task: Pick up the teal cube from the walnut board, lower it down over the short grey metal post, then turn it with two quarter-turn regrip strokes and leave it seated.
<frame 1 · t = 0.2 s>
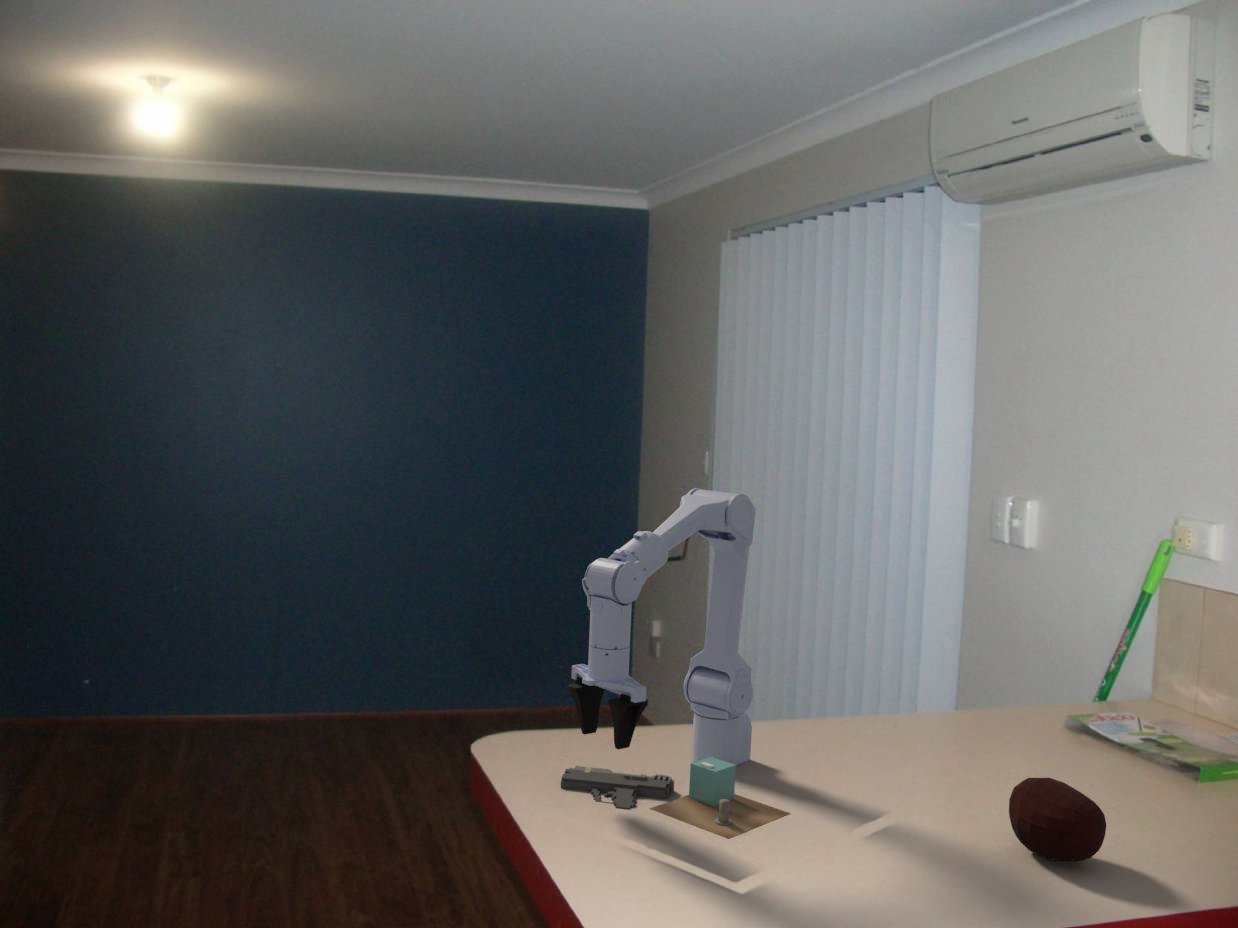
hand: (605, 740, 169), 10 cm above the kitchen counter, tool pointing down, fingers open, 7 cm apart
teal cube: (711, 797, 174), point 1 cm above the kitchen counter, touching board
board: (719, 817, 169), on the kitchen counter
potato: (1053, 860, 159), on the kitchen counter
toy gun: (613, 804, 174), on the kitchen counter
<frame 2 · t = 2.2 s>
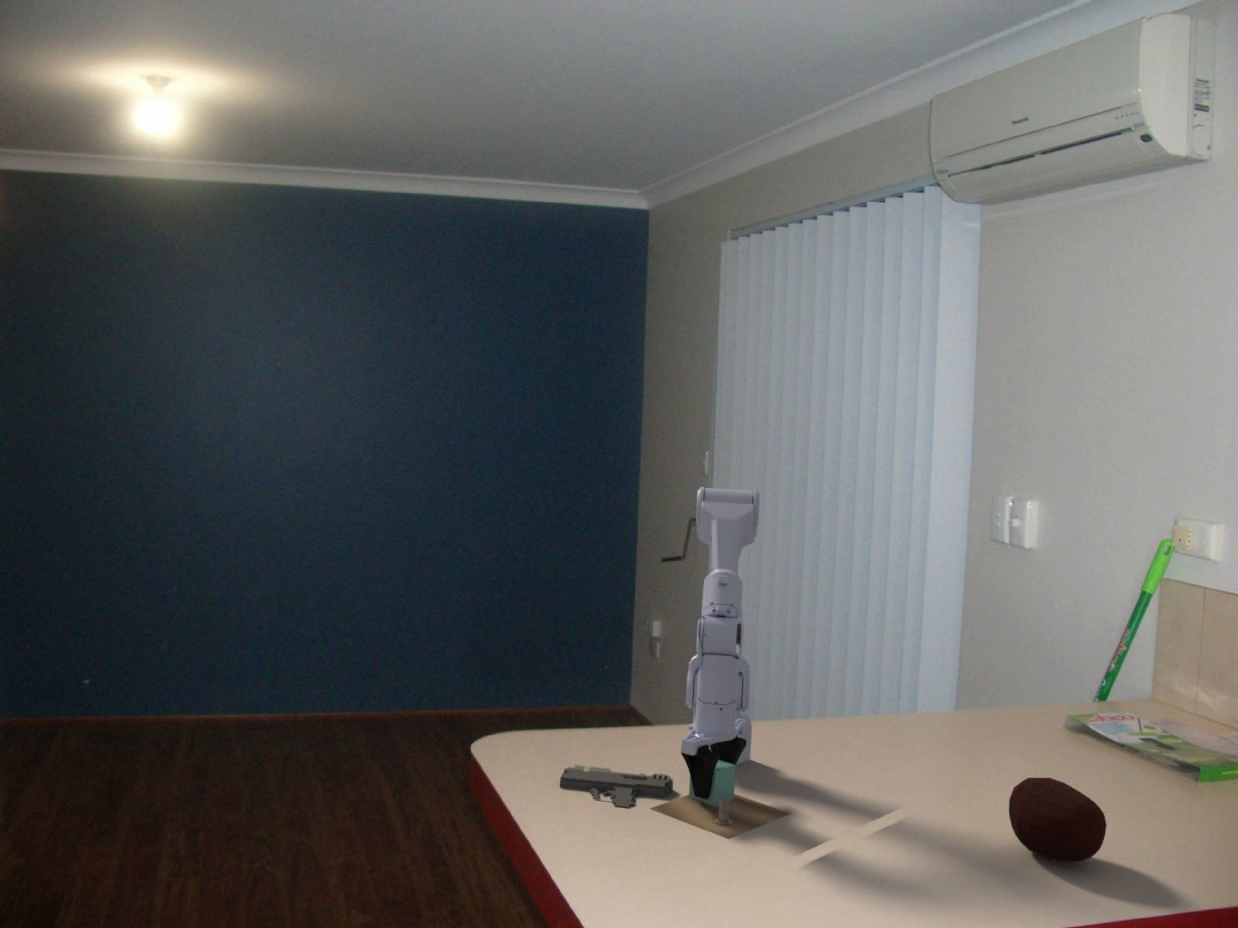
hand: (711, 791, 173), 2 cm above the kitchen counter, tool pointing down, fingers closed on teal cube, 5 cm apart
teal cube: (711, 797, 174), point 1 cm above the kitchen counter, touching board, gripper
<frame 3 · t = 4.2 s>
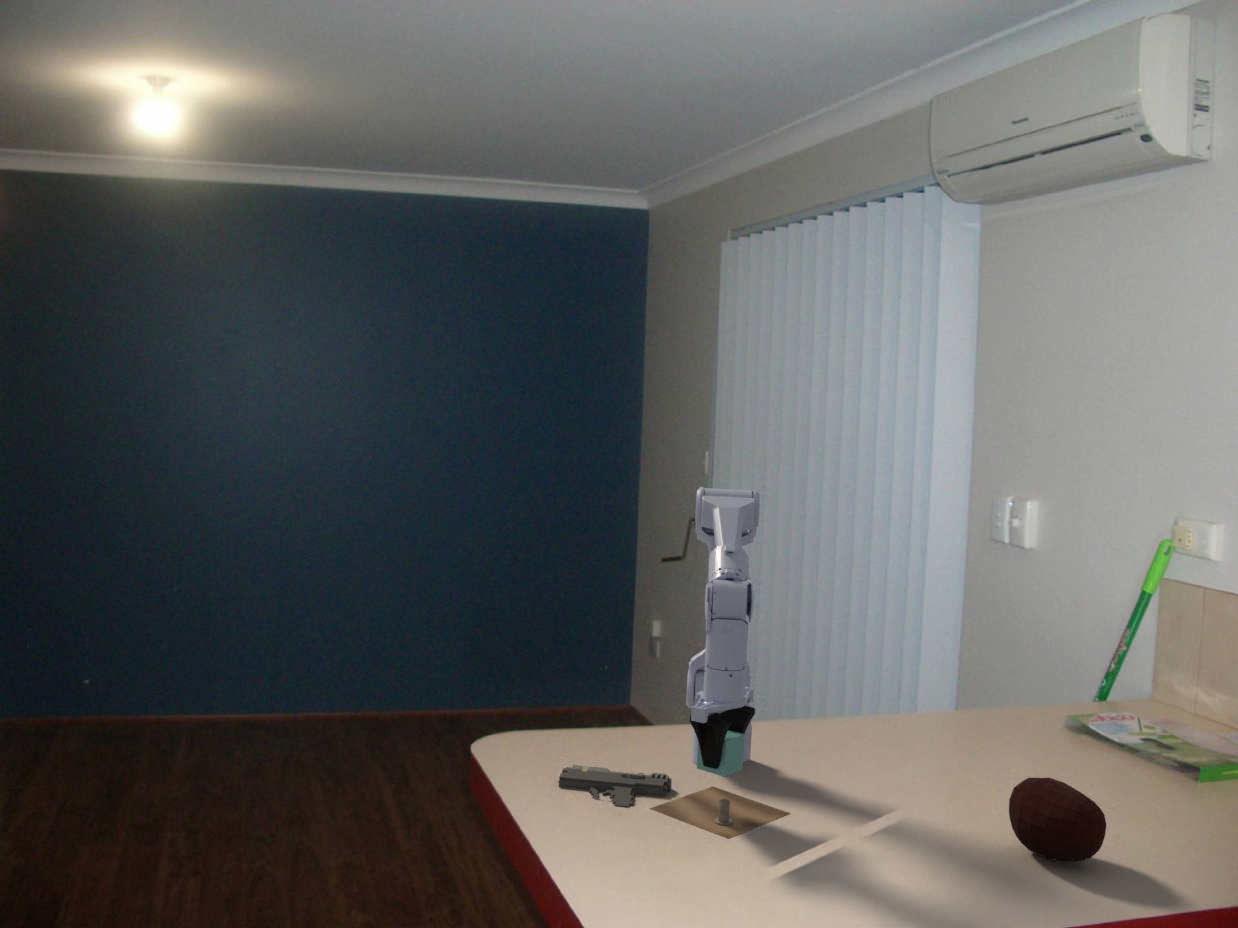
hand: (720, 761, 168), 8 cm above the kitchen counter, tool pointing down, fingers closed on teal cube, 5 cm apart
teal cube: (719, 768, 168), point 7 cm above the kitchen counter, touching gripper
everything else where it was.
when the fingers open (2 cm above the kitchen counter, at t = 6.4 s): teal cube stays where it is, resting on board.
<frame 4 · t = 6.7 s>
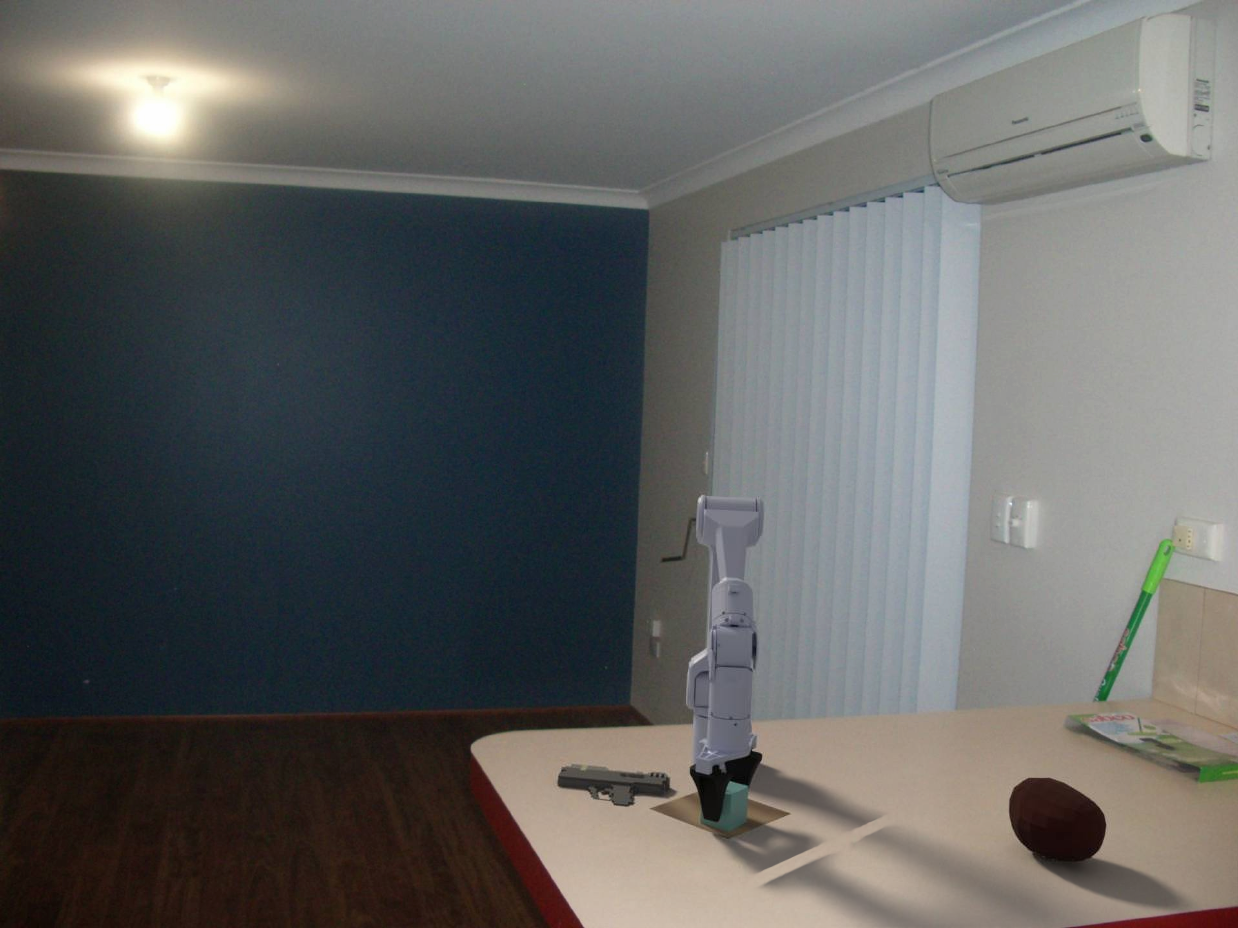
hand: (724, 811, 164), 3 cm above the kitchen counter, tool pointing down, fingers open, 7 cm apart
teal cube: (723, 822, 164), point 1 cm above the kitchen counter, touching board
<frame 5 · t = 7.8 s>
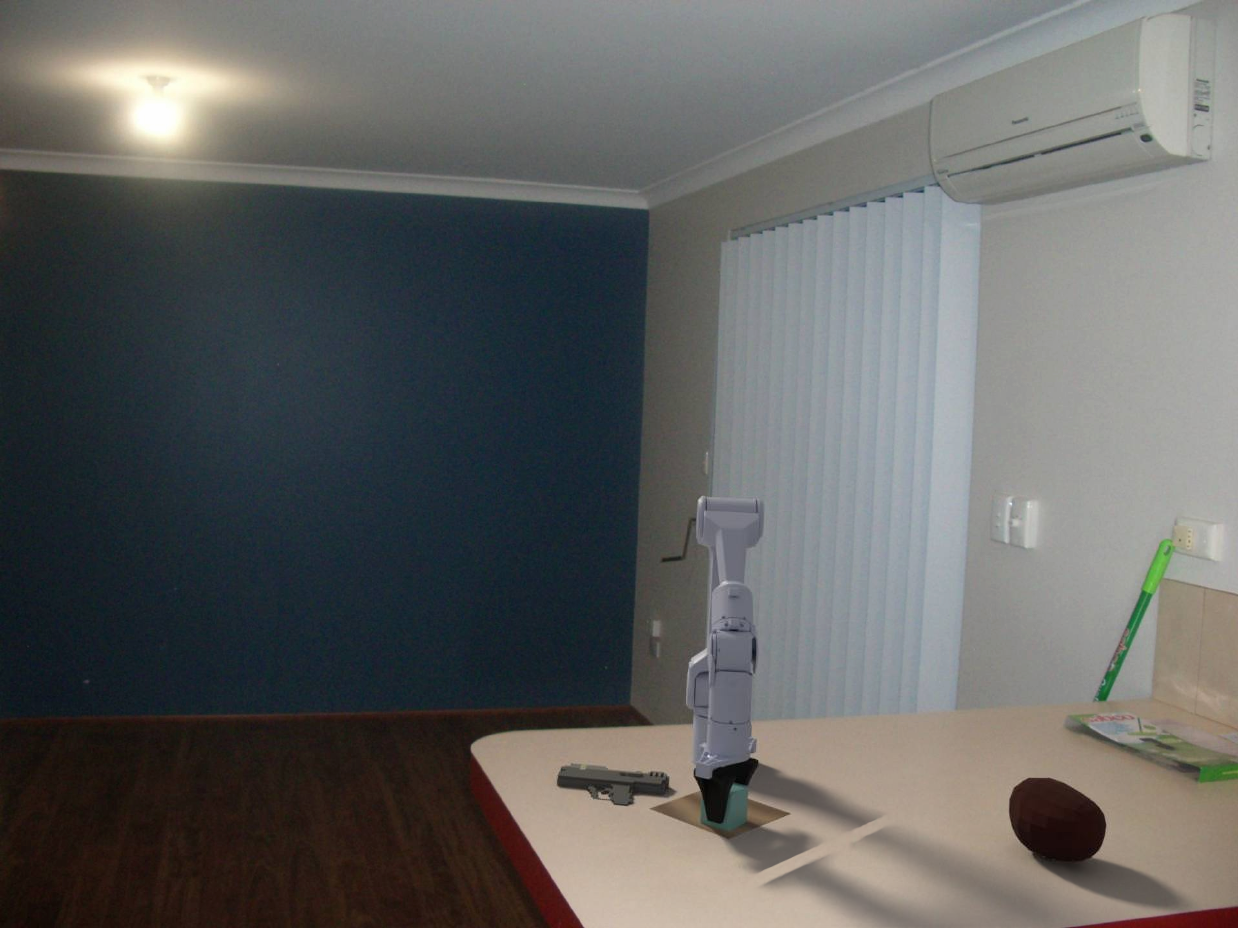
hand: (723, 815, 164), 2 cm above the kitchen counter, tool pointing down, fingers closed on teal cube, 5 cm apart
teal cube: (723, 822, 164), point 1 cm above the kitchen counter, touching board, gripper
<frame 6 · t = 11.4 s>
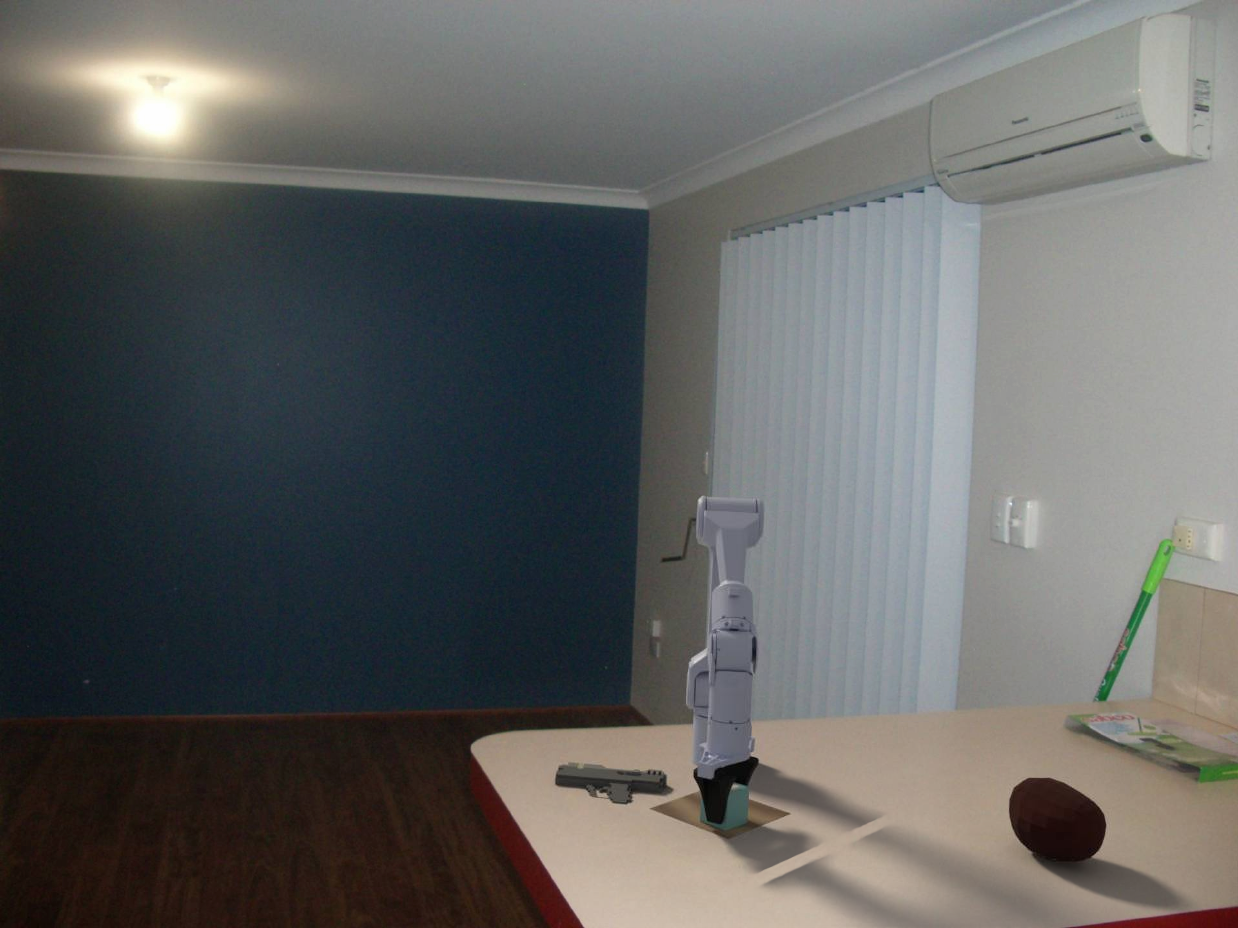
hand: (723, 815, 164), 2 cm above the kitchen counter, tool pointing down, fingers closed on teal cube, 5 cm apart
teal cube: (723, 821, 164), point 1 cm above the kitchen counter, touching gripper
when the fingers open (2 cm above the kitchen counter, at t = 12.1 s): teal cube stays where it is, resting on board.
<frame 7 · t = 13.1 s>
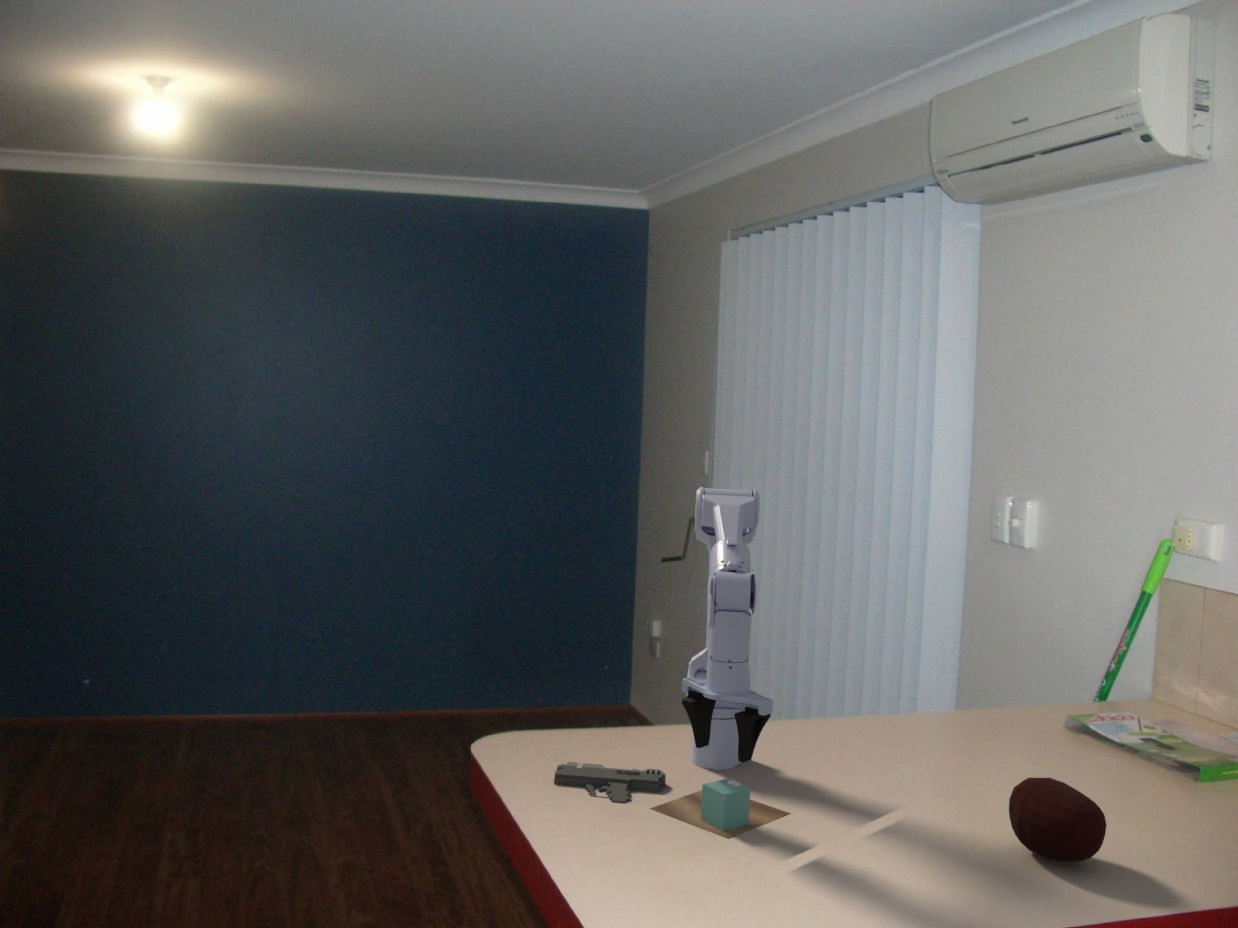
hand: (723, 753, 168), 9 cm above the kitchen counter, tool pointing down, fingers open, 7 cm apart
teal cube: (724, 821, 165), point 1 cm above the kitchen counter, touching board
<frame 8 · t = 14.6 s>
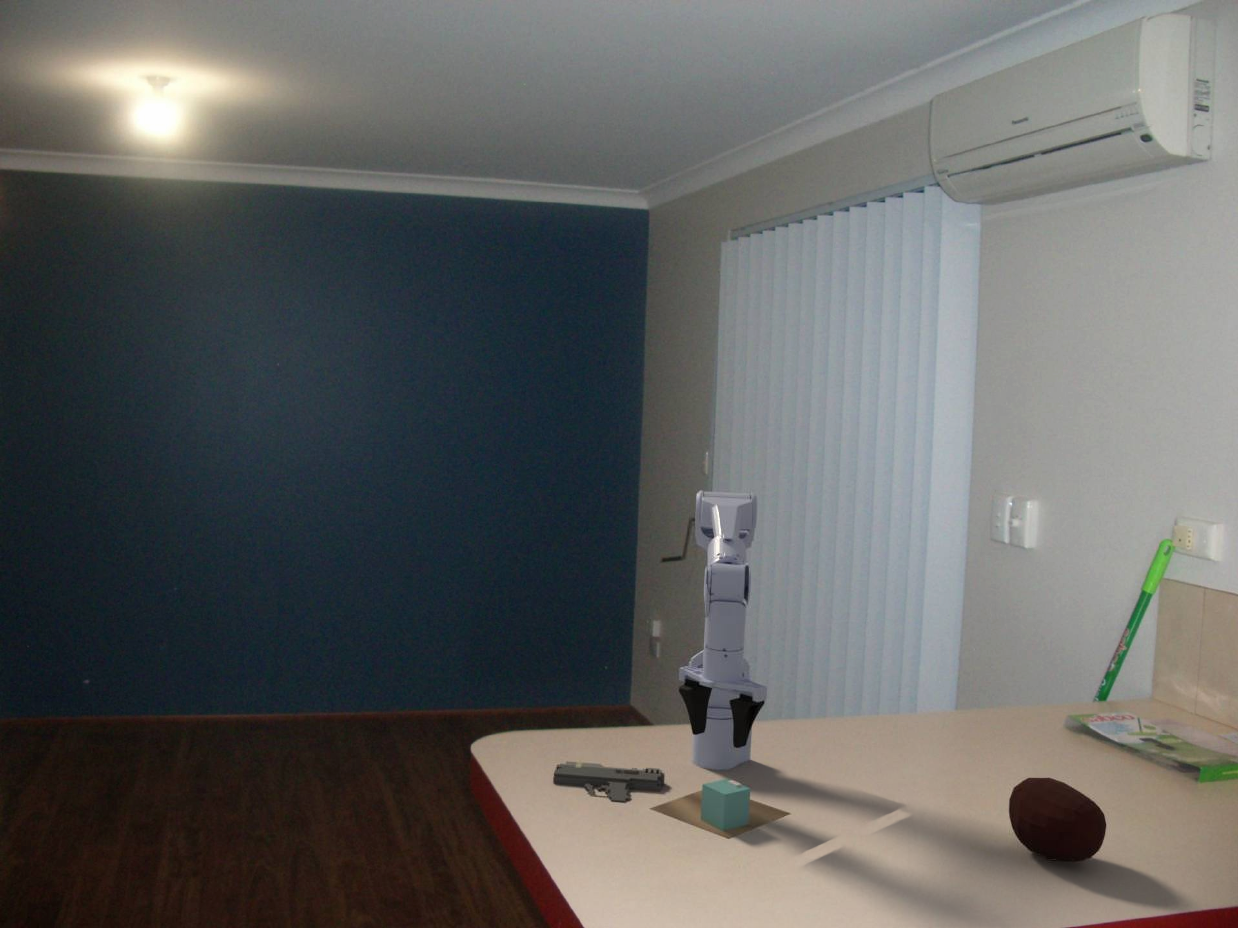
hand: (718, 739, 174), 9 cm above the kitchen counter, tool pointing down, fingers open, 7 cm apart
at the end: teal cube 0.2 cm from the target spot on the board, point 1.0 cm above the board's base; teal cube tilted 0°; the gripper is holding nothing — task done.
